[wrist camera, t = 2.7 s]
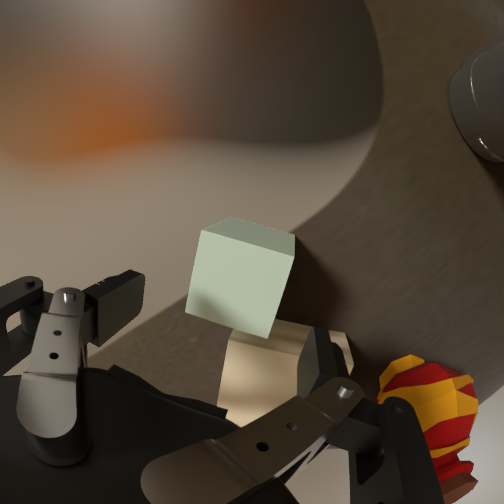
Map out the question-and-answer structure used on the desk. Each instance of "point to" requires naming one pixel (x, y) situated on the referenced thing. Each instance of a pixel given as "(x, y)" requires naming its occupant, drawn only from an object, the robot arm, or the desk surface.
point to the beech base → (265, 369)
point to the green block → (240, 275)
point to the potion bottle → (437, 416)
